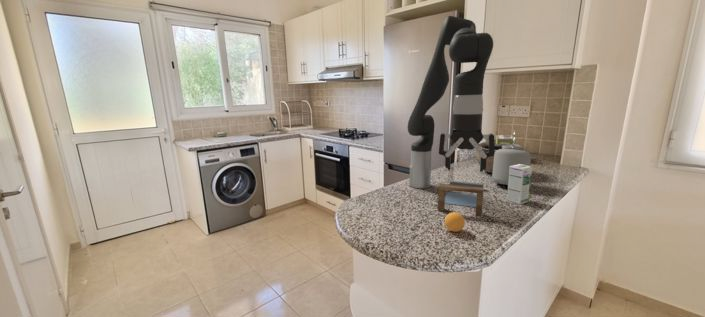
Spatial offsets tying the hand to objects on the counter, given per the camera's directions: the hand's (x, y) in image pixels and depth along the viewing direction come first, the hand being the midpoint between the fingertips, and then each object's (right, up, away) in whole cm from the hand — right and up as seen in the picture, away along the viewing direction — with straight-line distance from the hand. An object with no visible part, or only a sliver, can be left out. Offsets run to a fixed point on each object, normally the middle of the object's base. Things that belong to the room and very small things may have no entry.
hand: (464, 170), depth 82 cm
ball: (+1, -17, +10) cm, 20 cm away
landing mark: (+14, -13, +37) cm, 42 cm away
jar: (+42, -9, +54) cm, 69 cm away
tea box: (+65, +3, +105) cm, 123 cm away
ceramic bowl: (+46, -5, +75) cm, 88 cm away
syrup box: (+34, -14, +34) cm, 50 cm away
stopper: (+20, -10, +51) cm, 56 cm away
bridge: (+8, -16, +25) cm, 31 cm away
